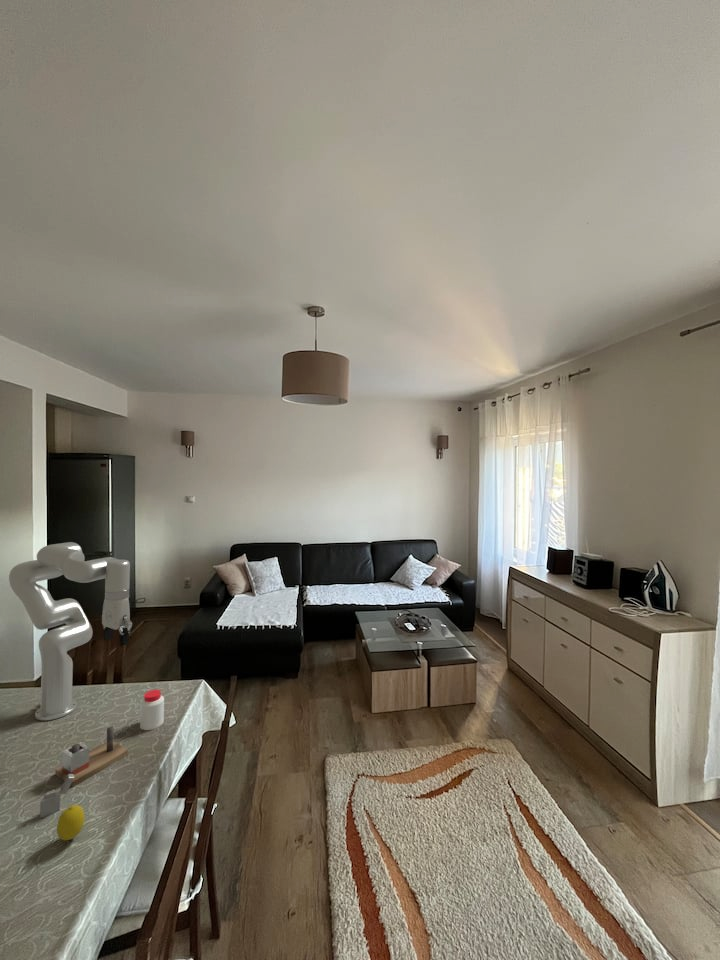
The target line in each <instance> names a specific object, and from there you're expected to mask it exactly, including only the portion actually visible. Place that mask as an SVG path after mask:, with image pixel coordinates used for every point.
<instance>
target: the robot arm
mask: <svg viewBox="0 0 720 960" xmlns="http://www.w3.org/2000/svg"><path fill="white" fill-rule="evenodd" d="M61 576H64V578H65V579H67V580H69V581H73V582H76V583H81V584H83V583H84V584H85V583H91V582H95V581H99V580H103V579H105V582H104V583H105V584H104V600H103V605H102V612H101V613H102V615H101V624H102V629H103V641H108V640H112V639H113V638H114V632H115V630H118V632H119V635H118V647H123V646H126V645H129V643H130V633H131V631H132V626H133V622H132V621H131V618H130V617H131V615H130V614H131V612H130V611H131V610H130V600H129V598H130V585H131V583H130V578H131V563H130V561H129V560H127V559H118V558H116V557H113V556H107V557H102V558H96V559H90V560H86V561H85V554H84V552H83V550H82V547H81V545H79V544H78V543H77V542H74V541H68V542H67V541H66V542H62V543H55V544H54V543H53V544H48V545H45V546H43V547H41V548H40V549H39V550H38V552H37V554H36V559H35V560H29V561H24V562H22V563H18V564H16V565H15V566H13V567H12V568H11V570H10V571H9V575H8V583H9V585H10V588H11V589H12V591H13V592H14V595H16V597H18V599H19V600H20V601H21V603H22V604H23V607H24V609H25V610H26V613H27V614H28V616H29V618H30V620H31V622H32V624H33V626H34V627H35V629H37V630H38V631H39V630H41V631H43V630H47V629H50V630H48V631H46V632H45V633H43V634H42V635H41V637H40V638H39V640H38V649H39V653H40V654H39V655H40V659H41V668H40V669H41V673H40V674H41V675H40V676H41V679H40V682H41V684H40V707H39V708H38V709H37V710H35V713H34V717H35V720H38V721H43V722H44V721H51V720H56V719H60V718H62V717H65V716H67V715H69V714H71V713H72V712H73V711H74V710H75V709H76V708H77V701H76V700H74V699H73V676H74V675H73V670H74V669H73V668H74V663H73V659H72V658H71V656H70V655H69V654H68V651H70V650H72V649H75V648H77V647H80V646H83V645H84V644H86V643H89V642H90V640H91V639H92V637H93V628H92V625H91V622H90V621H89V618H88V617H87V615H86V613H85V612H84V610H83V607H82V606H81V604H80V603H79V601H78V600H76V599H74V598H62V599H58V600H54V598H53V597H52V595H51V593H50V591H49V590H48V589H47V588H45V587H44V586H42V585H40V584H38V583H37V582H42V581H45V580H51V579H56V578H59V577H61ZM64 624H65V625H64ZM60 625H61V626H60ZM57 626H59V627H57ZM54 627H55V628H54ZM51 628H53V629H51Z"/></svg>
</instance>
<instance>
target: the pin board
mask: <svg viewBox="0 0 720 960" xmlns="http://www.w3.org/2000/svg"><path fill="white" fill-rule="evenodd" d="M114 729H115V728H114V726H108V728H107V729H106V741H105V742H104V743H102V744H100V745H98V746H97V747H95V748H93V749H91V750H89V767H88V768H86V769H84V770H83V771H81V772H79V773H77V774H75V775H74V779H73V781H72V783H71V785H70V787H72V788H74V787H75V786H77V785H79V784H80V783H82V782H84V781H86V780H87V779H89V778H91V777H92V776H94V775H96V774H98V773H99V772H101V771H103V770H104V769H106V768H108V767H109V766H111V765H113V764H114V763H116V762H118V761H120V760H121V759H123V758H125V757H126V756H128V755H129V749H127V748H125V747H124V746H122V745H120V744H119V743H118V742H115V741H114V732H115V731H114ZM71 746H72V753H75V752H77V751H79V747H80V744H77V743H75V744H73V745H71ZM54 774H55V775H56V776H57V777H58V778H60V779H61V780H62V779H63V780H62V781H63V782H65V780H66V778H67V776H68V775H66V774H65V773H64V772H62V765H60V766H59V767H57V768H55V773H54Z"/></svg>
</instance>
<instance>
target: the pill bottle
mask: <svg viewBox="0 0 720 960" xmlns="http://www.w3.org/2000/svg"><path fill="white" fill-rule="evenodd" d="M143 696H144V697H143V699H142V700H141V701H140V706H139V707H140V710H139V711H140V712H139V713H140V714H139V728H140V729H141V730H144V731H152V730H155V729H157V728H159V727H161V726H162V725H163V724H164V721H165V714H164V713H165V697H164V696H163V695H162V690H159V689H152V690H149V691H146V692H145V693H144V694H143Z"/></svg>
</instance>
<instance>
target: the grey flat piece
mask: <svg viewBox="0 0 720 960" xmlns="http://www.w3.org/2000/svg"><path fill="white" fill-rule="evenodd" d="M73 779H74V774H68V776H67V778H66V780H65V781H63V784H62V786H61V788H59V790H58V791H56V789H53V790H50V791H47V792H46V793H45V795H44V796H41V797H40V801H39V802H40V804H39V805H40V808H39V812H40V813H39V819H43V818H45V817H47V816H49V815H52V814H54V813H57V812H59V811H61V795H66V794H67V792H68V791H69V789H70V787H71V786H70V785H71V783H72V781H73Z"/></svg>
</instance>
